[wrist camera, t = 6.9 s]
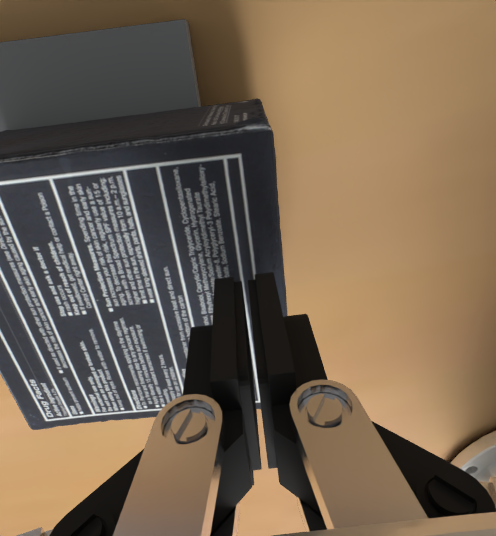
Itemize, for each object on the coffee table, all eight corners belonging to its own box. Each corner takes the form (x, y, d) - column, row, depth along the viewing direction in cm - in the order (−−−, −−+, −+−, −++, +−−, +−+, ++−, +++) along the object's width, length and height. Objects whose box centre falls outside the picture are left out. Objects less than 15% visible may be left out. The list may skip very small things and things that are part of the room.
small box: (263, 92, 16) (1, 123, 16) (277, 117, 10) (-130, 165, 10) (281, 313, 21) (82, 333, 21) (297, 414, 15) (24, 439, 15)
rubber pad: (237, 339, 24) (238, 356, 22) (35, 363, 24) (24, 382, 22) (188, 21, 16) (184, 19, 14) (-112, 59, 16) (-143, 60, 15)
